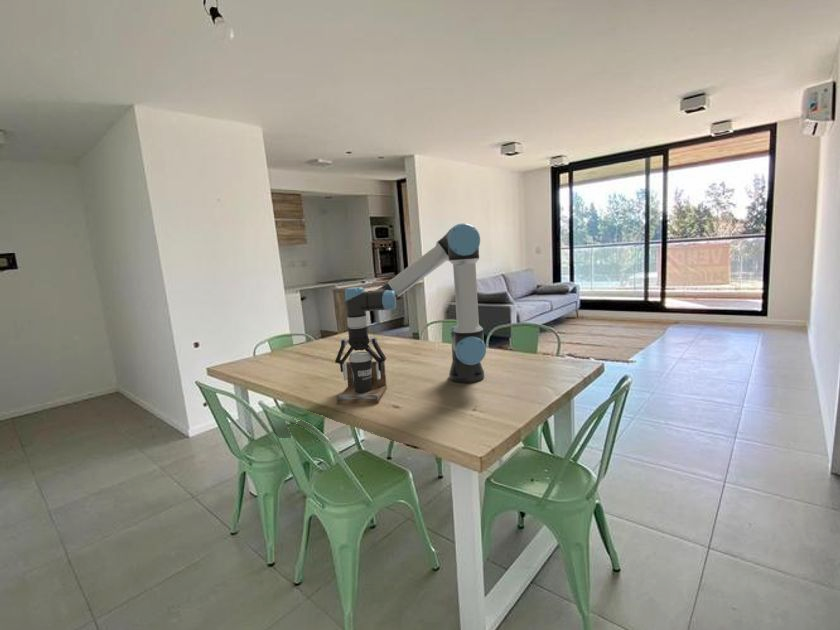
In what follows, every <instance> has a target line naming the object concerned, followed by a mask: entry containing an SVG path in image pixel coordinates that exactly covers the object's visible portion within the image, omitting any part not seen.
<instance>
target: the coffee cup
mask: <svg viewBox="0 0 840 630" xmlns="http://www.w3.org/2000/svg"><path fill="white" fill-rule="evenodd" d="M373 359H374V358H373V357H372V356H371V355H370V354H369V353H368V352H367V351H357V352H351V353H350V355H349V356H348V362H350V365H351V370H352V376H353V382H354V387H355V392H357V393H366V392H369V391H371V377H372V361H373Z"/></svg>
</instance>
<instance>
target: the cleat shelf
mask: <svg viewBox="0 0 840 630" xmlns="http://www.w3.org/2000/svg"><path fill="white" fill-rule="evenodd" d="M385 361H386V360H385ZM385 361H383V362H382V370H381V371H380V376H381V378H380V379H379V380H377V370H376V363H377V361H376V360H374V361H373V360H372V377H371V391H369V392H366V393H357V392H355V387H354V382H353V376H352V370H351V365H350V361H345V363H346V365H347V376H348V379H347V380H346V381H347V387H346V388H345V389H344V390H343V391H342V393H341V394H336V396H335V397H336V405H371V404H373V405H374V404H375V405H378V404H379V403H380V401H381V399H382V398H383V396H384V395H385V393H386V391H387V389H388V386H387V375H386V373H387V372H386V362H385Z"/></svg>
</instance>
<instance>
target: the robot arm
mask: <svg viewBox="0 0 840 630" xmlns="http://www.w3.org/2000/svg"><path fill="white" fill-rule="evenodd" d="M480 244H481V236H480V233H479V231H478V229H477V228H476V227H475V226H473V225H472V224H469V223H465V222H464V223H457V224H456V225H453V227H451V228H450V229H449V230H448V231H447V232H446V233H445V234H444V236H442V237H441V238H440V239H438V241H436V243H435V246H433V248H431V249H429V250H428V251H427V252H426V253H424V254H423V255H421V257H419V258H417V260H415V261H414V262H412V263H411V264H410V265H408V266H407V267H405V268H404V269H403V270H402V271H400V272H399V273H398V274H396V276H394V277H392V279H390V280H388V281H387V282H386V283H385V284H383V285H382V286H381V287H379V288H377V289H376V290H375V291H365V288H364V287H362V286H355V287H347V288H345V290H344V298H345V299H344V302H345V309H346V322H347V327H348V329H347V330H348V333H347V334H348V339H346V338H343V339H342V340H341V342H340V347H339V350H338V353H337V355H336V358H335V360H334V363H335V364H338V365H339V366H340V372H341V373H342V374H343V381H347V379H348V376H347V365H346V360H347V359H349V357H350V355H351V354H352V353H353V351H357V352H358V351H364V350H365V352H368V353H369V354H370V355H371V356H372V357H373V359H374V361H377V363H376V370H377V380H379V379H380V378H381V376H380V371H381V370H382V362H383V361H386V360H387V357H386V356H385V353H384V352H383V350H382V349H381V347H380V345H379V343H378V339H377V337H373V338H369V331H368V326H367V325H368V319H367V312H374V311H375V312H376V311H389V310H395V309H396V307H397V298H398V297H400V296H402V294H404V293H405V292H407V291H409V290H410V289H411V288H412V287H413V286H415V285H416V284H418V283H419V282H420V281H421V280H423V279H424V278H425V277H427V276H428V275H430V274H431V273H432V272H433V271H434V270H436V269H438V268H439V267H440V266H442V265H443V264H445V263H446V262H450V264H452V267H453V269H452V270H453V285H454V297H455V298H454V299H455V300H454V301H455V302H454V303H455V316H456V325H454V326H452V327H451V328H450V338H451V341H450V342H451V356H452V362H451V365H450V369H449V373H448V376H449V377H448V378H449V380H450V381H452V382H456V383H460V384H461V383H466V384H467V383H469V384H470V383H476V382H480V381H482V380H484V379H485V370H484V368H483V365H482V363H481V362H482V361H483V359H484V358H485V357H486V354H487V347H486V346H487V345H486V343H485V340H484V328H483V327H482V326H481V325H480V322H479V320H480V318H479V304H478V303H479V302H478V299H479V298H478V287H477V286H478V283H477V282H478V281H477V268H476V263H477V262H478V260H480V251H479V249H480ZM369 343H370V344H371V345H373V348H374V349H372V347H371V346H370V345H369ZM347 345H349V346H350V347H349V349H348V350H347V352H346V353H345V354H344V356H343V353H344V351H345V348H346V346H347ZM375 351H376V352H375ZM342 356H343V357H342Z"/></svg>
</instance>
